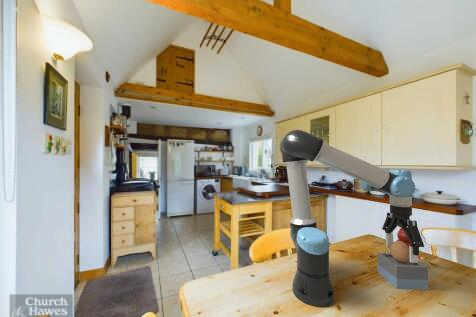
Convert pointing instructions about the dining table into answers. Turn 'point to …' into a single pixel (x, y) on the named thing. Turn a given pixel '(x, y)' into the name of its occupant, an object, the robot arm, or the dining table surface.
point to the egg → (400, 251)
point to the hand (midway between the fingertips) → (400, 254)
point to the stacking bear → (403, 237)
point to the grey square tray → (403, 273)
